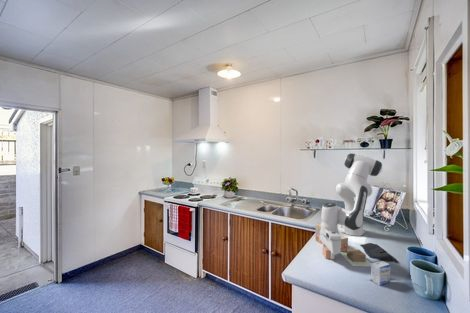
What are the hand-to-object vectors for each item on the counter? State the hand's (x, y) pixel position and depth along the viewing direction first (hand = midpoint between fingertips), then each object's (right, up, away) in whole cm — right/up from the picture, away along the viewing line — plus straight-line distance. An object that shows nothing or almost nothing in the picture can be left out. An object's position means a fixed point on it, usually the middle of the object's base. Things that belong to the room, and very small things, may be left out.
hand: (328, 254), depth 128 cm
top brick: (0, -3, 0) cm, 3 cm away
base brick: (+15, -2, -2) cm, 15 cm away
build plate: (+15, -3, -2) cm, 15 cm away
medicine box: (+16, -3, -22) cm, 27 cm away
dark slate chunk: (+32, -3, +6) cm, 33 cm away
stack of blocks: (+9, -2, +17) cm, 19 cm away
